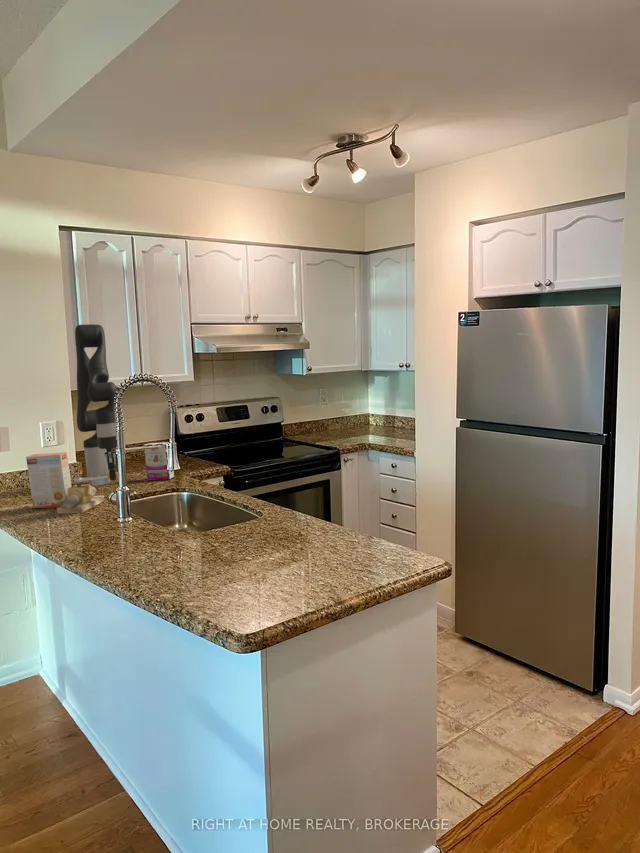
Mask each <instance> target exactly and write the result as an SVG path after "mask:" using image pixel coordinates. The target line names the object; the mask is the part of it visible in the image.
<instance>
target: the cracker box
mask: <svg viewBox="0 0 640 853" xmlns="http://www.w3.org/2000/svg"><path fill="white" fill-rule="evenodd" d="M25 458H26V459H25V460H26V466H27V474H28V480H29V488H30V494H31V496H30V497H31V501H32V502H31V503H32V508H41V509H55V507H57V508H58V507H60V506H62V505H64V499H65V498H67V497H68V488H70V487H73V486H72V478H71V472H70V464H69V459H68V458H69V457H68V452H66V451H64V452H47V453H36V454H34V453H33V454H30V455H29V456H26V457H25ZM57 508H56V509H57Z"/></svg>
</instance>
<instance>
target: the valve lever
mask: <svg viewBox="0 0 640 853" xmlns="http://www.w3.org/2000/svg"><path fill="white" fill-rule="evenodd" d="M118 472H119V471H115V475H116V479H119V478H120V477H119V476H120V474H119V475H118ZM104 478H107V479H110V476H109V473H107V475H101V476H92V477H88V476H84V477H81V476H79V477H78V476H77V477H74V479H73V481H74V485H77V484H81V485H82V484H83V482H88V480H96V479H104Z"/></svg>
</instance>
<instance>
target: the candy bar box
mask: <svg viewBox="0 0 640 853" xmlns="http://www.w3.org/2000/svg"><path fill="white" fill-rule="evenodd" d="M169 442H170V441H168V442H167V441H166V442H164V441H163V442H162V441H161V442H148V443H145V444H143V453H144V460H145V461H144V462H145V469H146V470H145V471H146V478H148V479H170V480H172V479H174V478H175V473H174V472H175V471H172V472H171V471H168V470H167V463H168V443H169ZM158 445H161V447H158V448H153V449H144V447H149V446H158ZM173 477H174V478H173ZM171 478H172V479H171ZM148 479H147V480H148Z"/></svg>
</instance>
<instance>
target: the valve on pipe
mask: <svg viewBox="0 0 640 853" xmlns="http://www.w3.org/2000/svg"><path fill="white" fill-rule="evenodd" d="M96 494H97V489H96V488H95V486H90V484H88V483H87V484H82V483H81V484H74V485H73V486H72V487H70V488H68V497H67V498H65V499H64V505H62V506H60V507H58V508H56V512H57V513H59V514H78V513H80V514H83V513H84V512H86V511H88V510H91V509H92V508H94V507H96V506H97V505H99V504H101V503H103V502H104V501H105V496H104V495H96Z"/></svg>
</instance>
